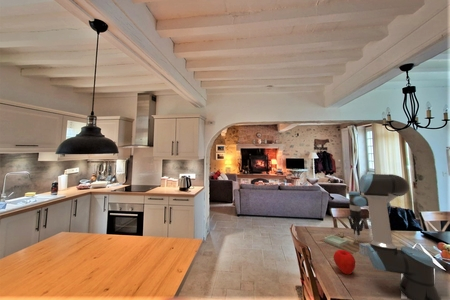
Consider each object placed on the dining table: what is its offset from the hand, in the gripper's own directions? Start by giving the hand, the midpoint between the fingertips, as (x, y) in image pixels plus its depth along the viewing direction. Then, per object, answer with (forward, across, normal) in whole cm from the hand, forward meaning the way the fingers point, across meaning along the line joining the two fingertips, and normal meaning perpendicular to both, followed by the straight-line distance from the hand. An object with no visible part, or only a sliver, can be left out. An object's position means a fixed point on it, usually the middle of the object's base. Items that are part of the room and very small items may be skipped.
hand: (357, 238), depth 147 cm
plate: (+5, +6, 0) cm, 8 cm away
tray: (+5, +12, +11) cm, 17 cm away
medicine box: (+7, -11, +10) cm, 17 cm away
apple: (+8, -13, +44) cm, 47 cm away
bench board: (+6, +8, +5) cm, 11 cm away
